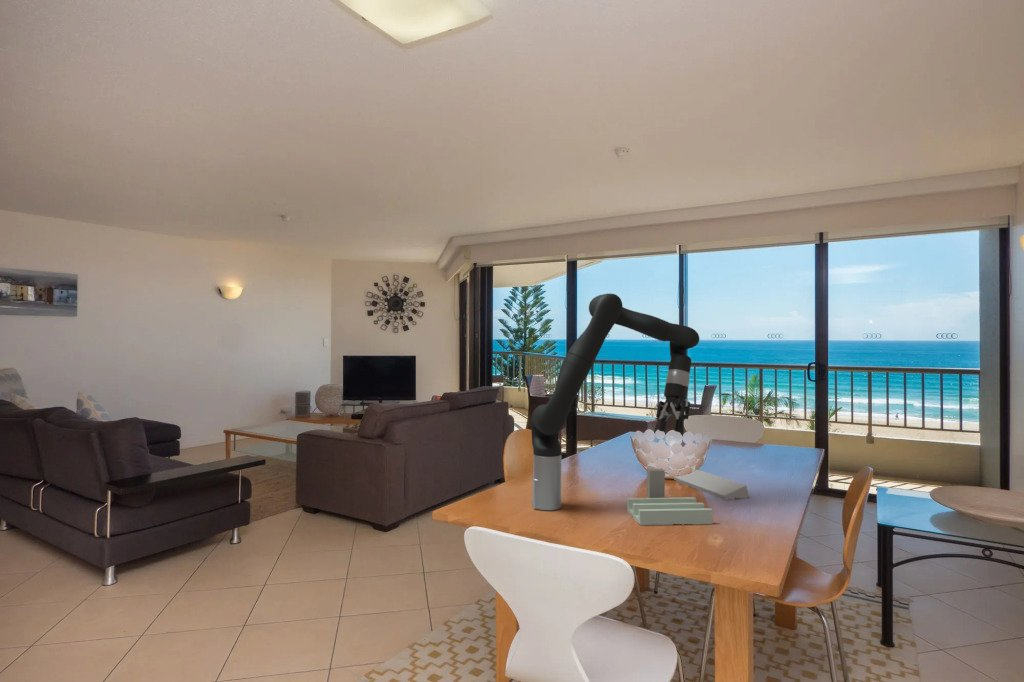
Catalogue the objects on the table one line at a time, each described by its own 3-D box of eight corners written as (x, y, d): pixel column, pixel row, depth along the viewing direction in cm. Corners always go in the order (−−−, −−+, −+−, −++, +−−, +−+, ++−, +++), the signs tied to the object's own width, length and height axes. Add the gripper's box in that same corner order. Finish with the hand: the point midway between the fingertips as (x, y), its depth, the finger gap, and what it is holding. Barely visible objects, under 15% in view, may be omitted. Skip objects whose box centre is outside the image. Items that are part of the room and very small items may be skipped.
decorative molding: (727, 508, 190) (749, 498, 194) (724, 495, 190) (746, 485, 193) (666, 484, 222) (686, 476, 226) (663, 473, 222) (683, 465, 225)
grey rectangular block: (649, 507, 182) (649, 470, 182) (646, 504, 185) (646, 468, 185) (664, 507, 182) (664, 470, 182) (661, 504, 185) (661, 468, 185)
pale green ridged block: (640, 525, 164) (640, 511, 164) (627, 511, 177) (627, 497, 177) (712, 524, 165) (712, 510, 165) (693, 510, 179) (694, 497, 179)
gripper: (655, 383, 195) (647, 428, 191) (681, 380, 182) (673, 429, 178) (673, 388, 197) (665, 433, 194) (699, 386, 184) (692, 434, 180)
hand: (669, 431), depth 186 cm, fingers open, 8 cm apart
